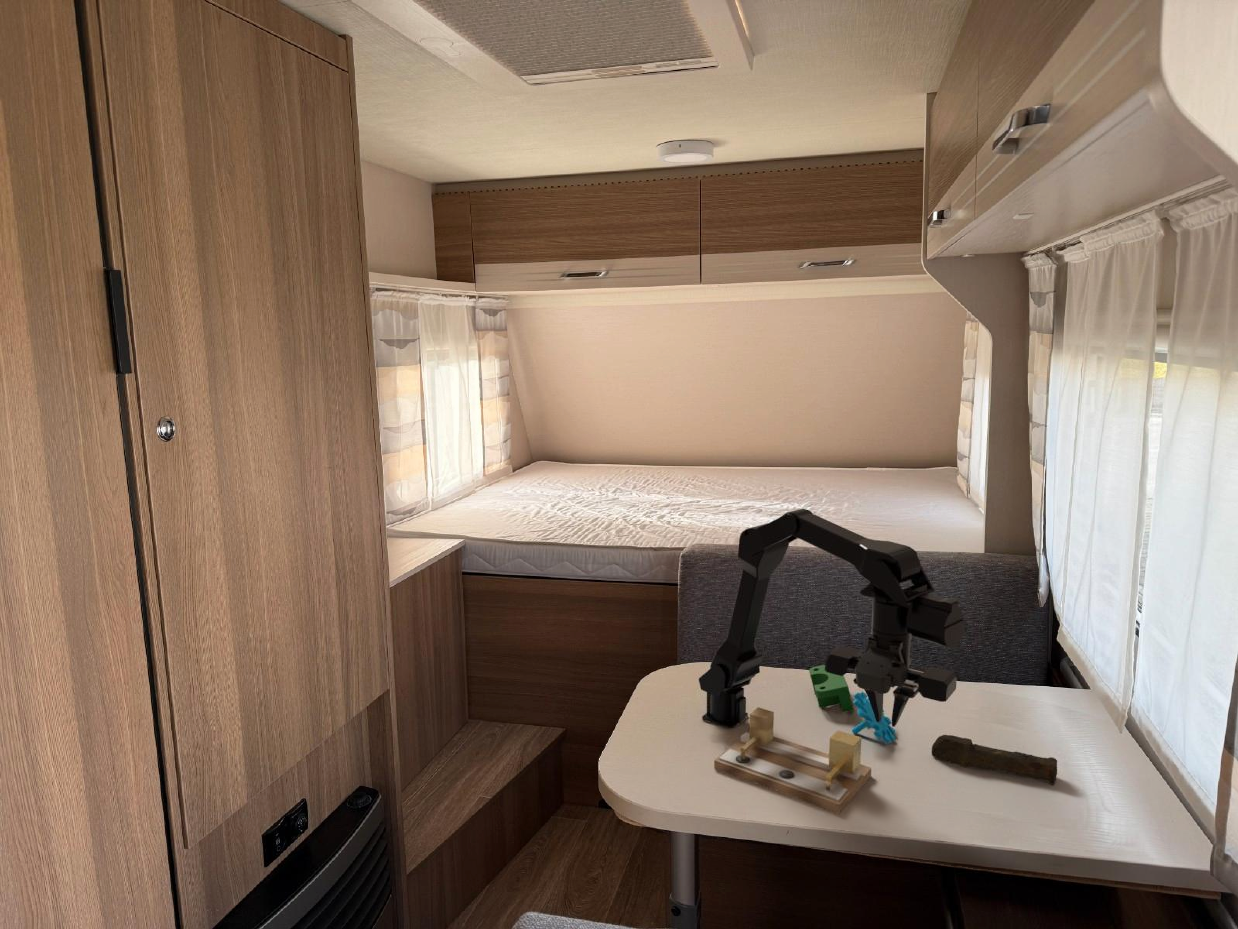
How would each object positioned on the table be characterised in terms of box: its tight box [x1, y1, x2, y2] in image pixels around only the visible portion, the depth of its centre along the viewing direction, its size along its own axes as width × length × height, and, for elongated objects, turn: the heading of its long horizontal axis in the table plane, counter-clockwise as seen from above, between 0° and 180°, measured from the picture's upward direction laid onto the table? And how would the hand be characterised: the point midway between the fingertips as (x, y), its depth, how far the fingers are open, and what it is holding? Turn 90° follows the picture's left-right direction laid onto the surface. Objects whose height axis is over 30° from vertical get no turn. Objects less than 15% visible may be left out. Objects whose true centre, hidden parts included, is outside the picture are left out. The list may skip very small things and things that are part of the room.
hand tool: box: [931, 734, 1058, 786], centre depth 142 cm, size 19×4×5 cm, turn 63°
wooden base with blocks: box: [713, 707, 872, 814], centre depth 141 cm, size 22×13×8 cm, turn 53°
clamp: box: [808, 664, 854, 714], centre depth 166 cm, size 12×6×9 cm, turn 170°
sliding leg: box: [825, 730, 862, 789], centre depth 136 cm, size 4×8×6 cm, turn 143°
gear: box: [851, 691, 896, 745], centre depth 153 cm, size 11×6×10 cm
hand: (886, 723), depth 132 cm, fingers open, 2 cm apart
